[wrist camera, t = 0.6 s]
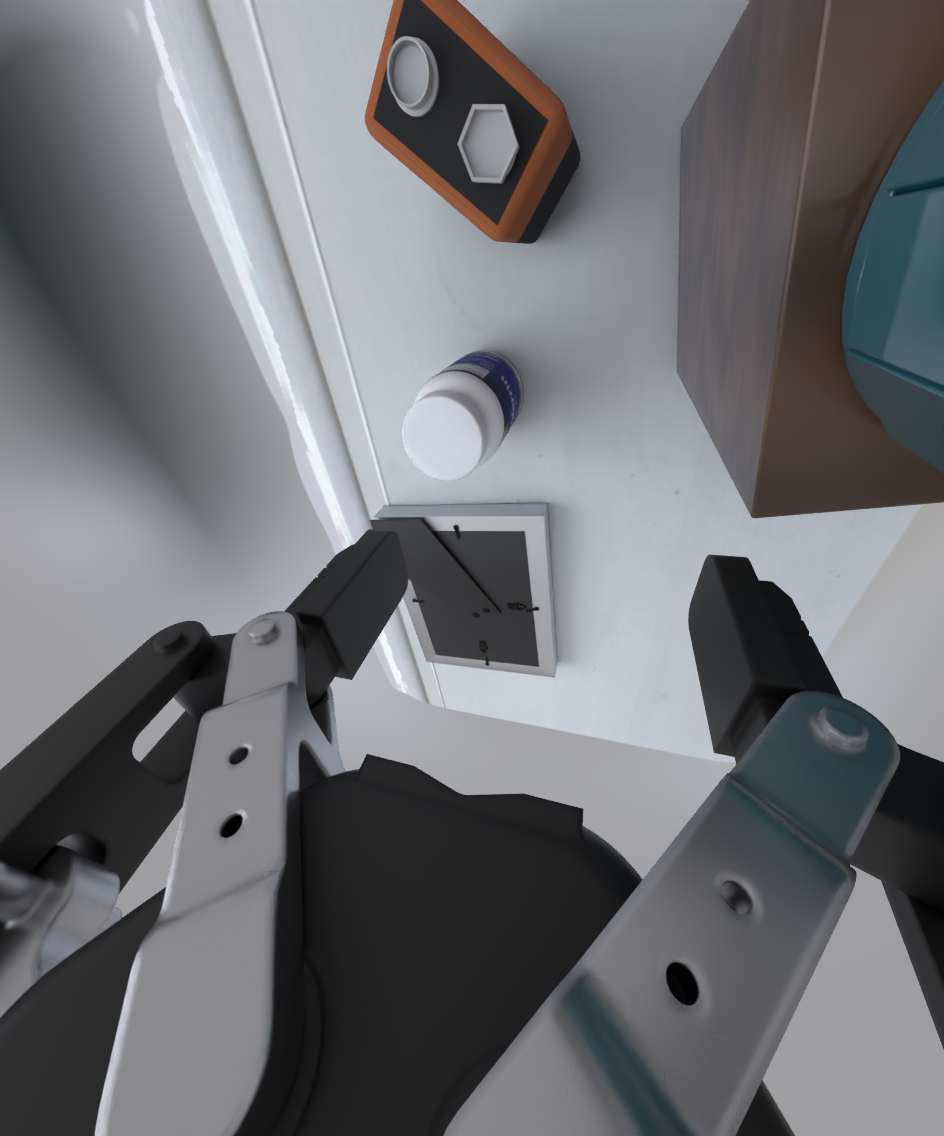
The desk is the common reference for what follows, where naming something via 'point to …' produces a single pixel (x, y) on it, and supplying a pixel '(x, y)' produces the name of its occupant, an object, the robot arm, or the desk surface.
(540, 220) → the battery
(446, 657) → the picture frame
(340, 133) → the desk surface
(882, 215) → the cup
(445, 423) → the pill bottle
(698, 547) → the desk surface
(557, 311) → the desk surface
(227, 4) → the desk surface
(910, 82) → the stand
